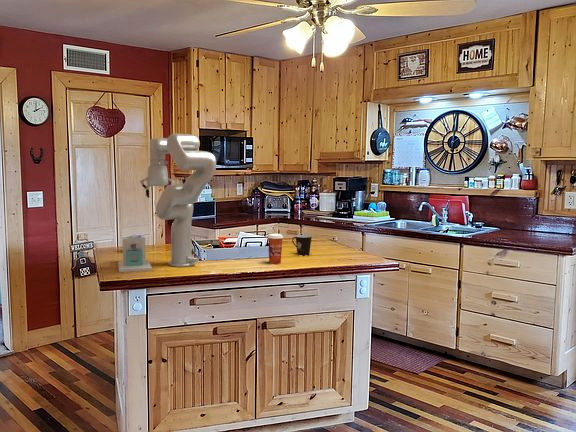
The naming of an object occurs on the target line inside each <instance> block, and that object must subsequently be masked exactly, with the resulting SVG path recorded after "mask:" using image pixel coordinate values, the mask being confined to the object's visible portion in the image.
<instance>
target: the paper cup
mask: <svg viewBox="0 0 576 432" xmlns="http://www.w3.org/2000/svg"><path fill="white" fill-rule="evenodd" d="M283 239H284V236H283V234H282V233H269V234H268V236H267V240H268V241H267V242H268V244H267V245H268V261H269V262H268V263H269V264H273V265H278V264H281V262H282V252H283V251H282V250H283Z"/></svg>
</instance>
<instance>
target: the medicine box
mask: <svg viewBox="0 0 576 432" xmlns="http://www.w3.org/2000/svg"><path fill="white" fill-rule="evenodd" d="M134 237H136V238H140V237H142V235H140V234H133V235H130V236H127V237H126V238H134ZM131 249H132V248H131Z"/></svg>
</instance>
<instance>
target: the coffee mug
mask: <svg viewBox="0 0 576 432" xmlns="http://www.w3.org/2000/svg"><path fill="white" fill-rule="evenodd" d="M312 237H313V236H312V235H309V234H297V235H295V236H294V237H292V239H291V241H292V242H291V243H293V245H294V246H295V247H296V254H298V255H297V256H299V255H303V256H302V257H306V256H305V255H308V256H310V252H311V246H312V245H311V244H312ZM294 239H295V242H294ZM295 243H296V244H295Z"/></svg>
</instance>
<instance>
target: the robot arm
mask: <svg viewBox="0 0 576 432" xmlns="http://www.w3.org/2000/svg"><path fill="white" fill-rule="evenodd" d="M200 145H201V142H200V139H199V137H197V136H196V135H195V134H190V133H172V134H169V136H168V137H157V138H151V139H149V165H148V166H147V175H146V177H145V178H143V179H141V180H140V181H139V183H140V185H141V186H142V187H143V188H144V189H145V196H146V197H147V198H148V199H149V198H150V188H151V187H164V189H163V191H162V192H161V194H160V196H159V199H158V200H157V203H156V205H155V215H156V216H157V218H158V219H160V220H163V221H165V220H166V221H167V220H173V222H172V224H171V226H170V227H171V228H170V256H171V257H170V260H169V261H167V265H168V266H170V267H175V268H176V267H177V268H181V267H182V268H183V267H191V266H194V265H195V263H199V260H200V258H199V257H195V256H194V254H192V224H193V223H192V220H193V214H194V204H195V203H196V202H197V200H198V199H199V197H200V195H201V194H202V193H203V191H204V188H205V187H206V186H207V185H208V183H209V182H210V181H211V180H212V178H213V177H214V175H215V172H216V169H217V159H216V157H215V155H214V154H213V153H212V152H210V151H206V150H205V151H204V150H198V149H199V148H200ZM166 154H167V155H168V154H169V155H170V156H171V158H172V160H173V162H174V164H175V165H176V167H177V168H178V169H179V170H181V171H194V172H193V173H191V174H190V175H189V176H188V177H187V178H186V180H185V182H184V183H178V184H177V183H176V180H174V179H173V178H170V177H169V173H168V167H167V165H168V164H169V161H167V160H166ZM145 182H146V183H147V185H145ZM169 182H171V183H170V184H169Z"/></svg>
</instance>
